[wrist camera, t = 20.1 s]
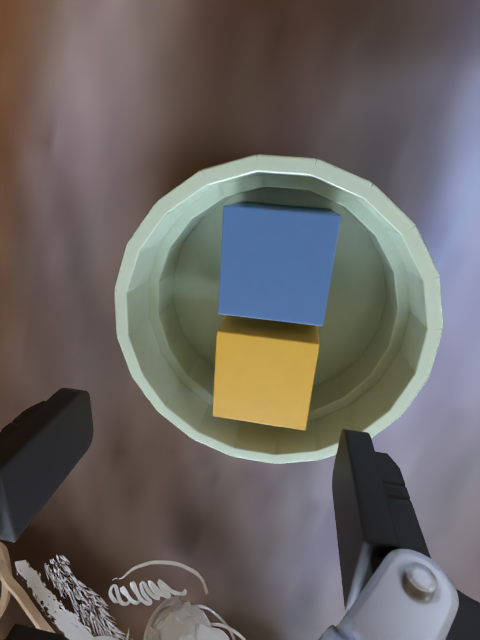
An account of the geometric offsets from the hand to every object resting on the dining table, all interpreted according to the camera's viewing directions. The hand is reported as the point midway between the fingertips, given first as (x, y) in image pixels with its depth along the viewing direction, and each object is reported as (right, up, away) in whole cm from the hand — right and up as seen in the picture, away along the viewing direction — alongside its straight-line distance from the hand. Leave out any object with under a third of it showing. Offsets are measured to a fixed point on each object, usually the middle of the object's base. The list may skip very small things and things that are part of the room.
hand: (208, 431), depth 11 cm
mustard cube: (+3, +2, +10) cm, 10 cm away
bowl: (+3, +5, +9) cm, 11 cm away
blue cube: (+3, +7, +8) cm, 11 cm away
